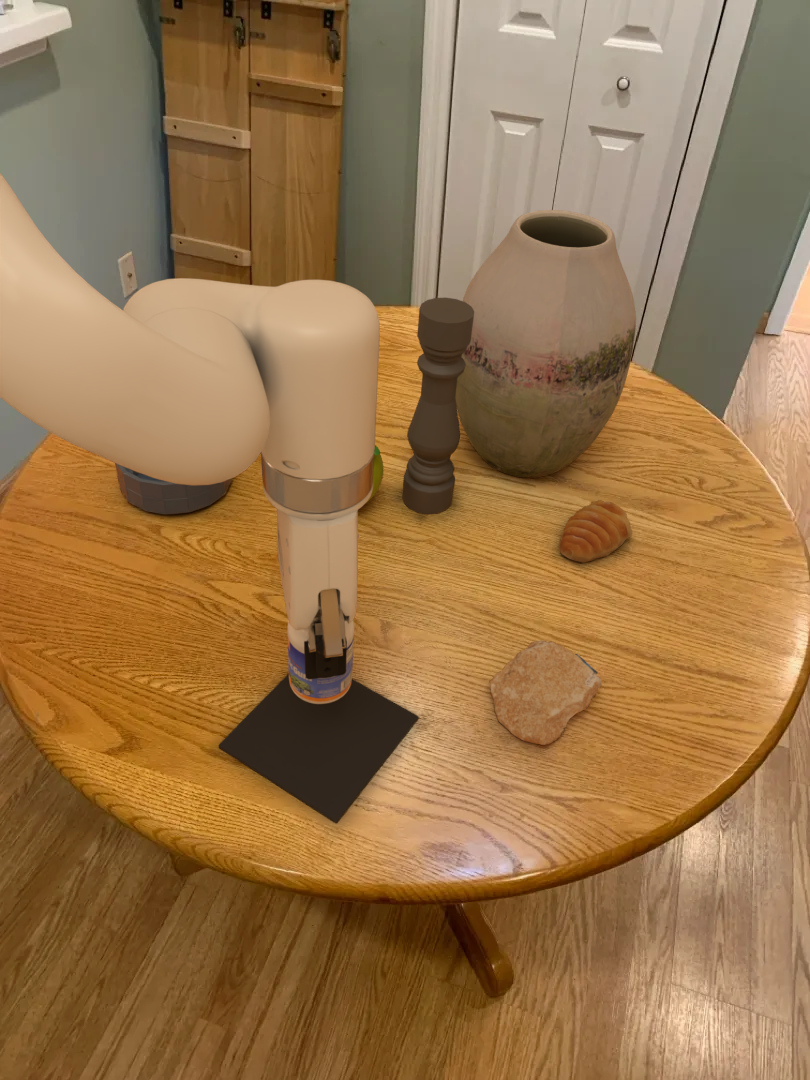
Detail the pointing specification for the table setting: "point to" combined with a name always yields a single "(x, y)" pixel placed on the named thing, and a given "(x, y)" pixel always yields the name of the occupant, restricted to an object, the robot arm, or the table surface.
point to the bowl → (166, 493)
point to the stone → (542, 691)
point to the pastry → (595, 531)
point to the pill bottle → (320, 687)
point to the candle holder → (437, 404)
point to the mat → (320, 744)
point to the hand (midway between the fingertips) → (319, 643)
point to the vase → (545, 343)
